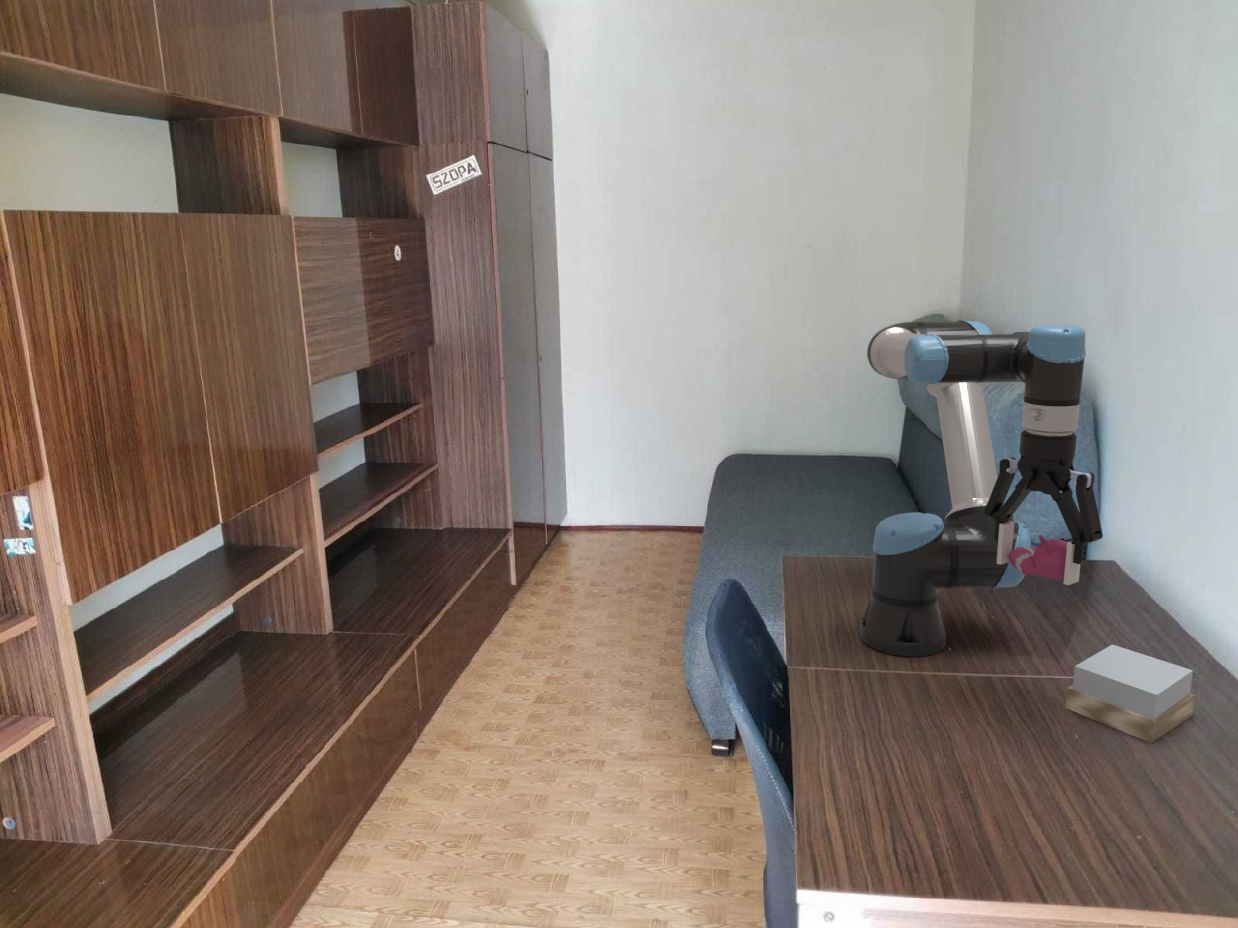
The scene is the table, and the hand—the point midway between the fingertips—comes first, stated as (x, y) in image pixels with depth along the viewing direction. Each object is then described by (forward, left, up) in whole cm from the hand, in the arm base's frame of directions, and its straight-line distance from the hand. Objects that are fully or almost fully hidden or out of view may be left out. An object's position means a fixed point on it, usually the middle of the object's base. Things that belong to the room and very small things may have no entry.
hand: (1036, 572), depth 140 cm
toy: (0, +3, -1) cm, 3 cm away
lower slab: (+11, +10, -23) cm, 27 cm away
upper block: (+11, +10, -19) cm, 24 cm away
